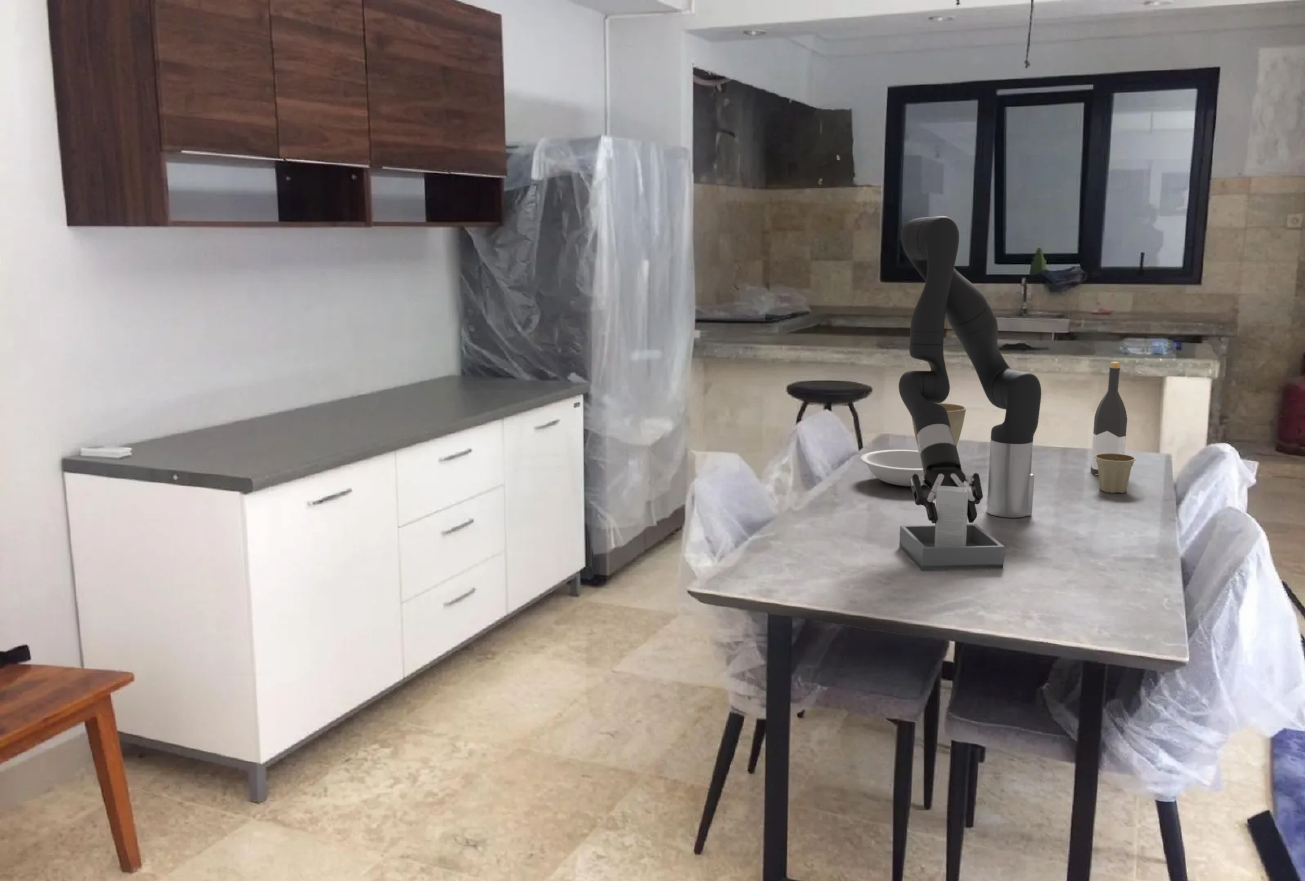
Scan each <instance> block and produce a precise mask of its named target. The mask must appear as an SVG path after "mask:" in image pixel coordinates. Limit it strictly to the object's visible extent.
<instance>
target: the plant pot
mask: <svg viewBox="0 0 1305 881" xmlns="http://www.w3.org/2000/svg"><path fill="white" fill-rule="evenodd" d="M935 404H939V405H941V406H943V407H944V408H945V409H946V411H947V414H948V418H949V422H950V426H951V430H952V433H953V435H954V438H955V442H956V447H957V446H958V443H959V441H960V438H961V434H962V429H963V426H964V421H965V416H966V413H967V412H966V411H967V406H964V405H961V404H956V403H946V402H942V403H935ZM911 419H912V426H913V427H912V428H913V432H914V437H915V441H916V446H917V448H918V450H919V447H918V437H917V432H916V427H915V422H914V420H913V418H912V417H911Z"/></svg>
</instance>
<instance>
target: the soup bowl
mask: <svg viewBox="0 0 1305 881" xmlns="http://www.w3.org/2000/svg"><path fill="white" fill-rule="evenodd" d="M860 461H861V462H862V463H864V464H865V465H866V466H867V467H868V469H869V471H870V472H871V474H872V475H874V476H875V477H876V478H877V479H879V480H880V481H882V482H883V483H884V482H885V483H887V484H891V485H893V486H894V485H896V486H902V487H911V485H910V481H911V478H912V476H913V475H914V474H917V475H918V476H924V471H923V467H922V462H921V457H920V454H919V449H918V450H917V449H884V450H873V451H870V452H869V451H868V452H867V453H864V454H862V455H861V456H860ZM922 486H927V485H926V484H925V483H924V482H923V484H922Z"/></svg>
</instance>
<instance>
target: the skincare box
mask: <svg viewBox="0 0 1305 881" xmlns="http://www.w3.org/2000/svg"><path fill="white" fill-rule="evenodd" d="M968 491H969V486H968V487H967V486H966V487H953V486H938V488H937V490H936V496H935V507H936V511H937V516H938V520H937V522H936V523H934V525H935V547H957V546H966V534H967V524H968V517H967V507H968Z"/></svg>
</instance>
